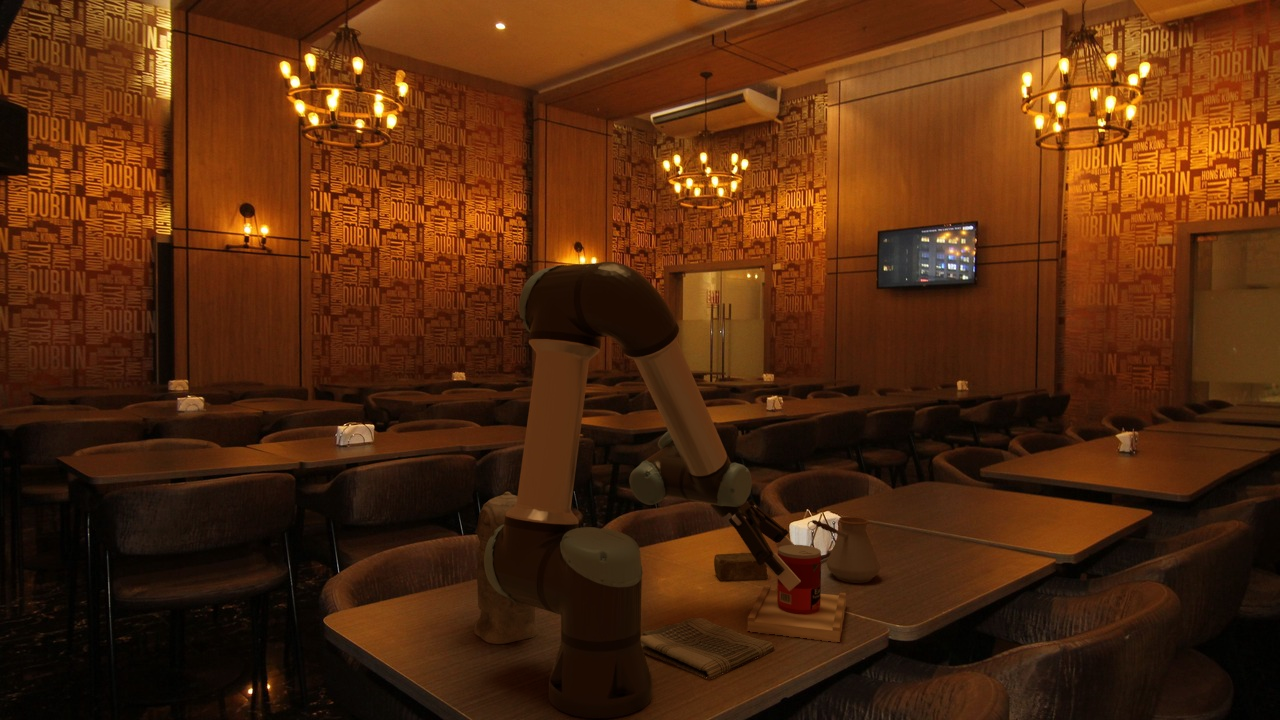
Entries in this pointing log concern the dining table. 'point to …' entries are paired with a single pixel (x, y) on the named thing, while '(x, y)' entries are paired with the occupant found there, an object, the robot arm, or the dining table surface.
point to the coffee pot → (851, 551)
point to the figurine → (497, 611)
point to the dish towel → (703, 647)
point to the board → (798, 618)
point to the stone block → (738, 567)
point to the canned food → (808, 571)
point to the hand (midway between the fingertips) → (800, 576)
